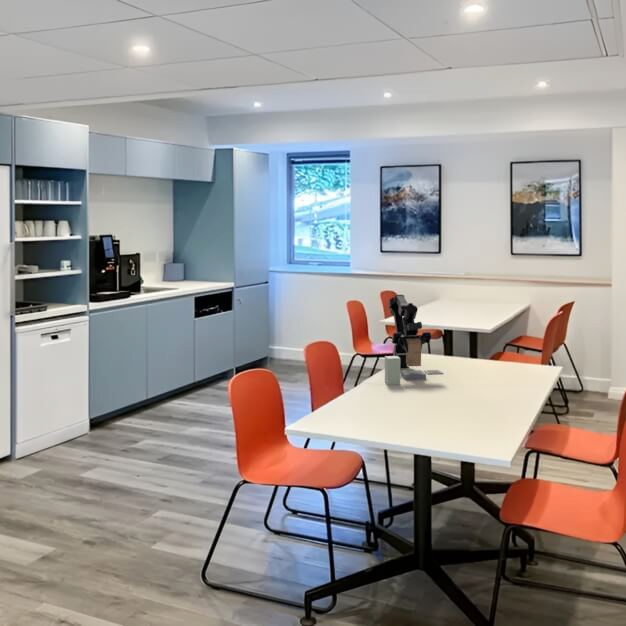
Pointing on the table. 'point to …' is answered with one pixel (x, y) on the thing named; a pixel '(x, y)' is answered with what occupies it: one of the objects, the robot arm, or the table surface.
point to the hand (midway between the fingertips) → (414, 351)
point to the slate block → (413, 375)
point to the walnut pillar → (413, 352)
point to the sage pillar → (392, 370)
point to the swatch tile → (433, 372)
